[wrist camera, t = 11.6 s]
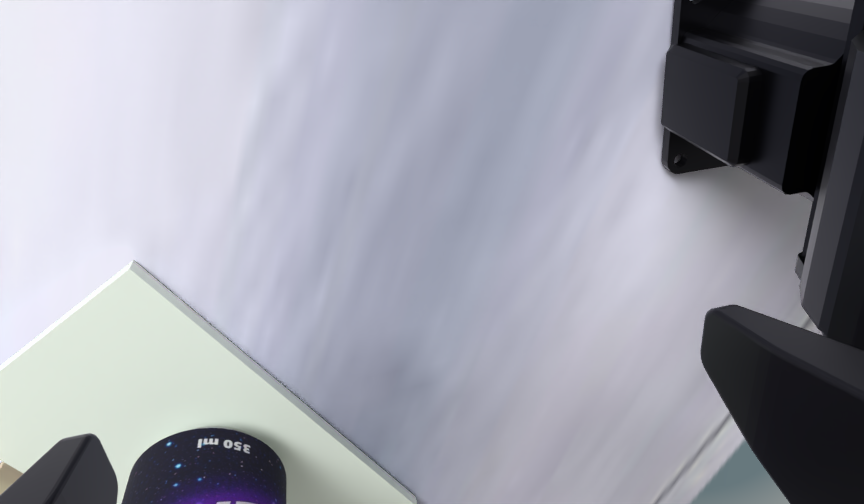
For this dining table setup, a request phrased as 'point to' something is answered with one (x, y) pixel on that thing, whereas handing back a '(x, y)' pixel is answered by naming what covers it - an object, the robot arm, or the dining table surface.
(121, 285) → the sage pad
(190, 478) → the beverage can
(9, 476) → the frame
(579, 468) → the dining table surface
